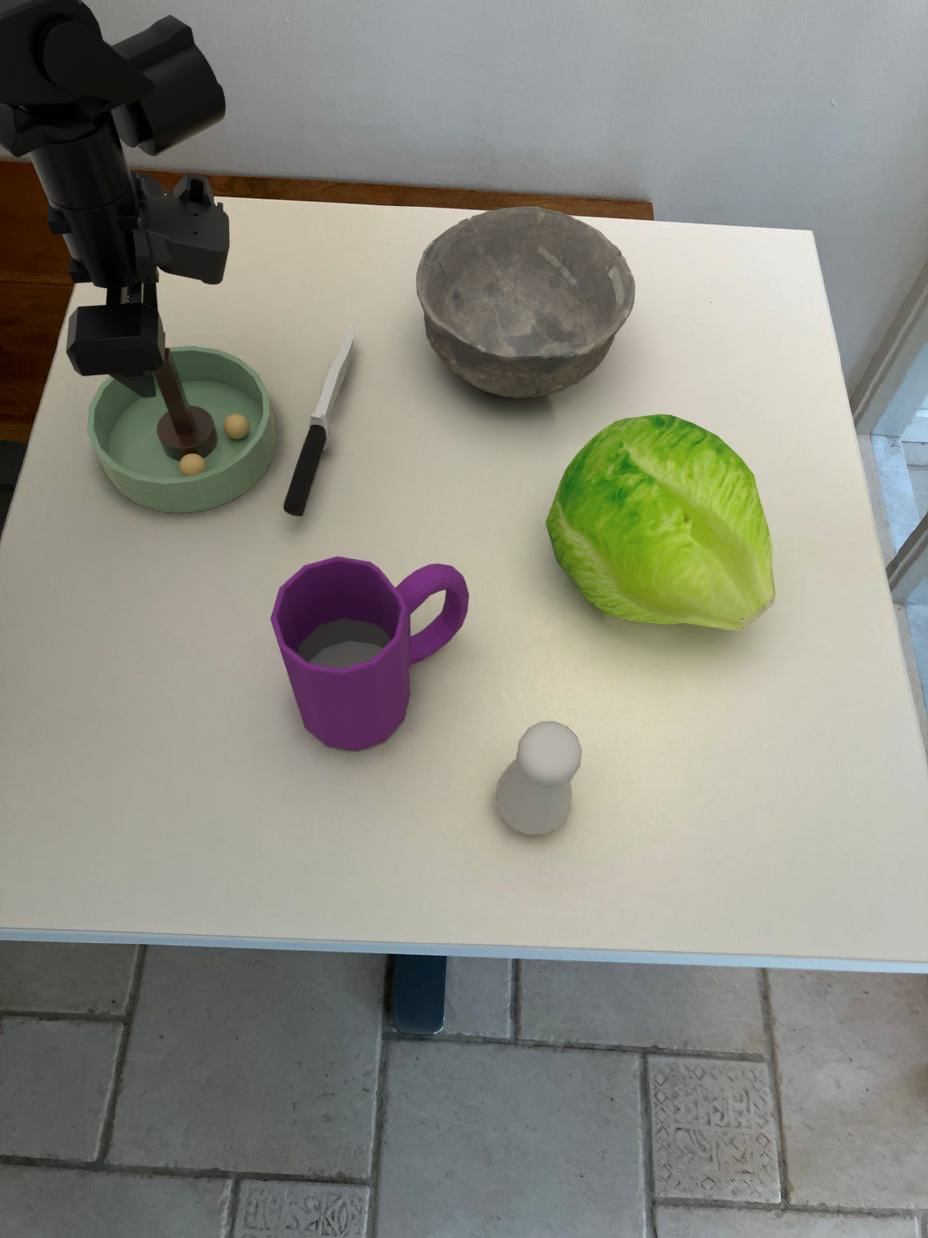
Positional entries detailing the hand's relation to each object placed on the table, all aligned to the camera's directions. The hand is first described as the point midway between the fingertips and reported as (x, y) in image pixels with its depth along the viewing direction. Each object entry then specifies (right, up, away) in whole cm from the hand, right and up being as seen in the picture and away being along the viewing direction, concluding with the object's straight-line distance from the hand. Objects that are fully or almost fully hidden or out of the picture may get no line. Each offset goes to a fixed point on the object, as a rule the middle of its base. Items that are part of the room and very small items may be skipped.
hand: (150, 354), depth 73 cm
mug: (+19, -27, 0) cm, 33 cm away
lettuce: (+42, -18, +6) cm, 46 cm away
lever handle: (0, -5, +11) cm, 12 cm away
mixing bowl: (0, -5, +11) cm, 12 cm away
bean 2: (+4, -3, +9) cm, 11 cm away
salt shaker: (+31, -37, -4) cm, 48 cm away
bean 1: (+1, -8, +9) cm, 12 cm away
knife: (+13, -4, +13) cm, 18 cm away
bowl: (+31, +5, +18) cm, 37 cm away
